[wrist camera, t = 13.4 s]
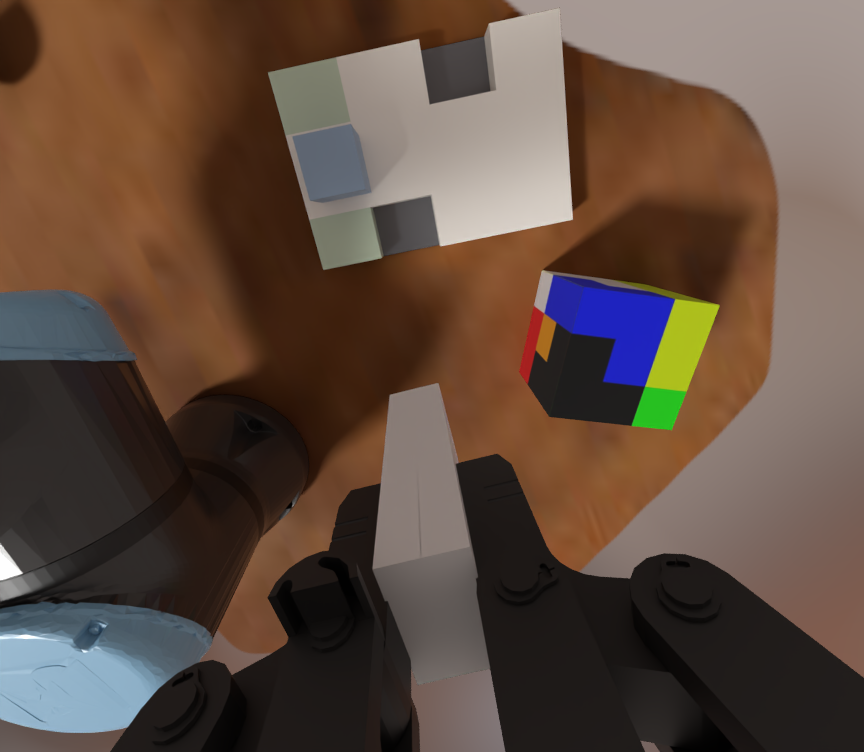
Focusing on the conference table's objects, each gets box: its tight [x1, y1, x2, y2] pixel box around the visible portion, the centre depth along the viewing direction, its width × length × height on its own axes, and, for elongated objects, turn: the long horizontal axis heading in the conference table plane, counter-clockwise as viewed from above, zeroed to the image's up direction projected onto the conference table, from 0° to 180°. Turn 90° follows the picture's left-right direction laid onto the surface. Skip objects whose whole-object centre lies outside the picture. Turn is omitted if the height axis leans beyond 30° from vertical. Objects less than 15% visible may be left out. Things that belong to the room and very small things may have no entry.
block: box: [292, 124, 372, 203], centre depth 30 cm, size 4×4×4 cm
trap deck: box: [268, 8, 573, 270], centre depth 32 cm, size 21×14×2 cm, turn 101°
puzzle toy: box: [519, 270, 720, 430], centre depth 35 cm, size 10×10×10 cm
